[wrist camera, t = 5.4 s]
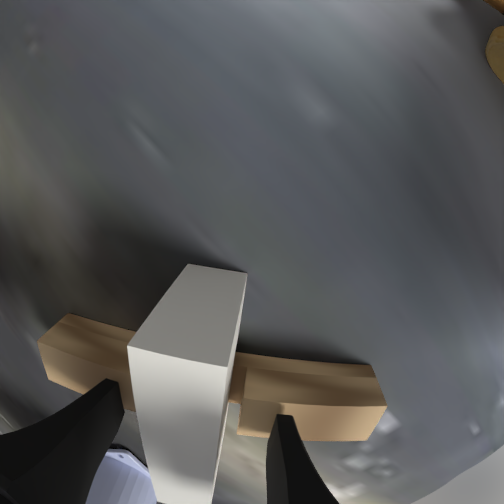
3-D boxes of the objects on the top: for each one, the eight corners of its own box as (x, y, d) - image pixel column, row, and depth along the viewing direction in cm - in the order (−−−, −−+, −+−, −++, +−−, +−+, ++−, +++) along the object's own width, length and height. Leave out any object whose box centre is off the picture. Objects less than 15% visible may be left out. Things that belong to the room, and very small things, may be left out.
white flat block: (183, 419, 15) (157, 501, 10) (187, 263, 12) (126, 345, 7) (225, 427, 15) (209, 513, 10) (247, 273, 12) (227, 367, 7)
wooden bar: (75, 349, 14) (48, 379, 11) (68, 312, 14) (36, 340, 11) (355, 399, 14) (366, 440, 11) (371, 365, 13) (387, 406, 10)
